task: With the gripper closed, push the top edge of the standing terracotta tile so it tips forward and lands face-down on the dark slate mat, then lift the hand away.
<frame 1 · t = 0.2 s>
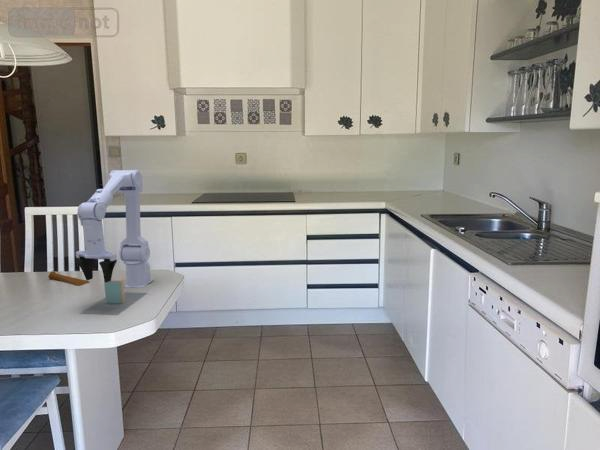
hand: (98, 280, 147), 10 cm above the table, tool pointing down, fingers open, 7 cm apart
primitive tool: (69, 282, 180), on the table
tile: (115, 302, 153), resting on mat
mat: (115, 303, 153), on the table
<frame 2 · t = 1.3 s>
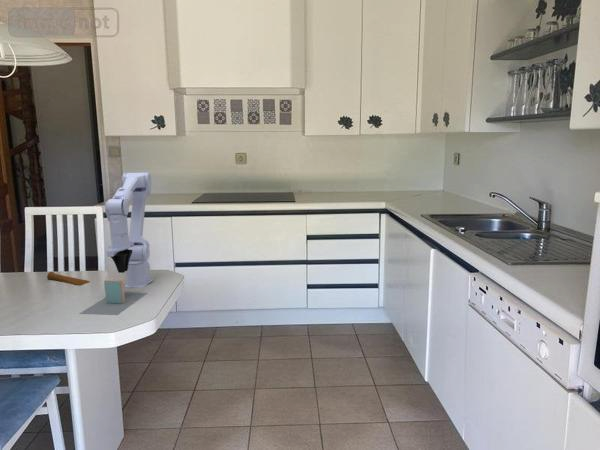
hand: (122, 271, 158), 9 cm above the table, tool pointing down, fingers closed
nothing on the table moved.
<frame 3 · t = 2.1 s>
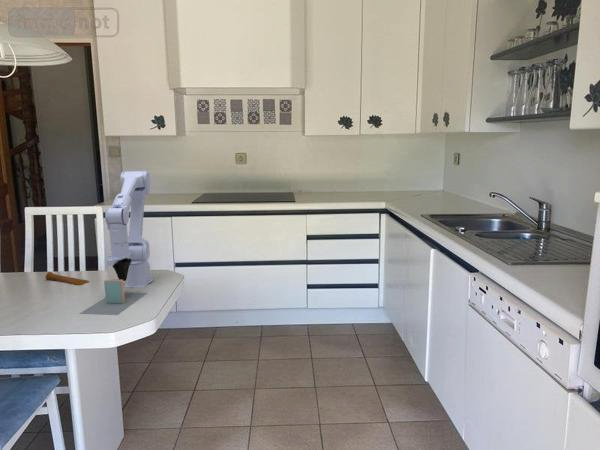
hand: (122, 280, 158), 6 cm above the table, tool pointing down, fingers closed
nothing on the table moved.
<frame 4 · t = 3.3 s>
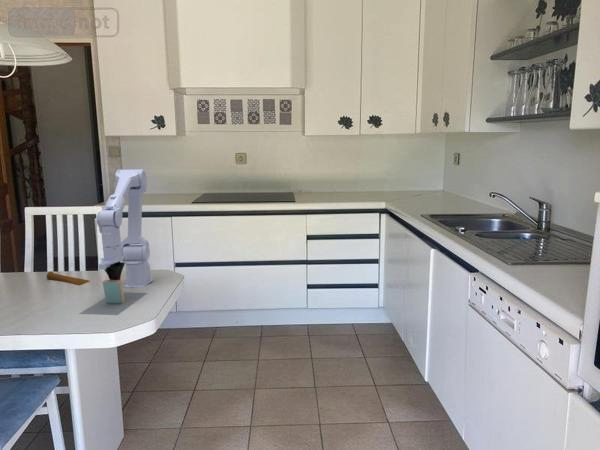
hand: (115, 284, 153), 6 cm above the table, tool pointing down, fingers closed
tile: (115, 302, 153), resting on mat, tilted 7°
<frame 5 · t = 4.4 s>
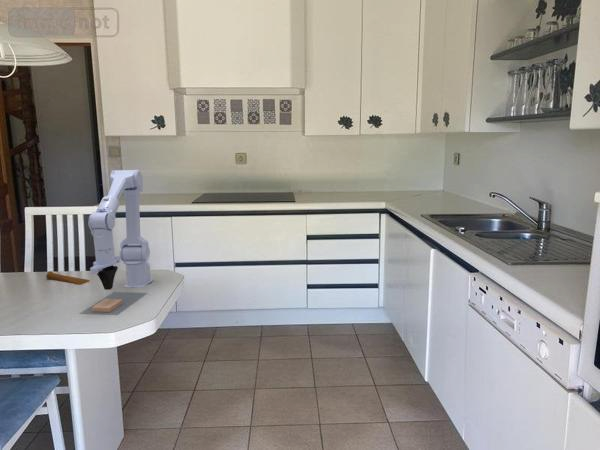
hand: (108, 289, 149), 6 cm above the table, tool pointing down, fingers closed
tile: (113, 301, 152), point 1 cm above the table, tilted 90°, touching mat
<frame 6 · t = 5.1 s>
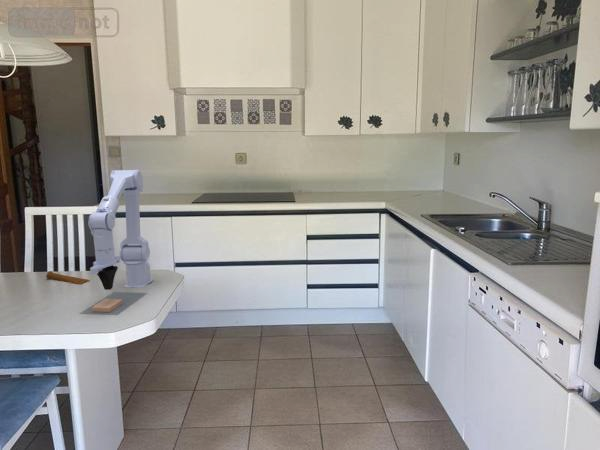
hand: (108, 289, 149), 6 cm above the table, tool pointing down, fingers closed
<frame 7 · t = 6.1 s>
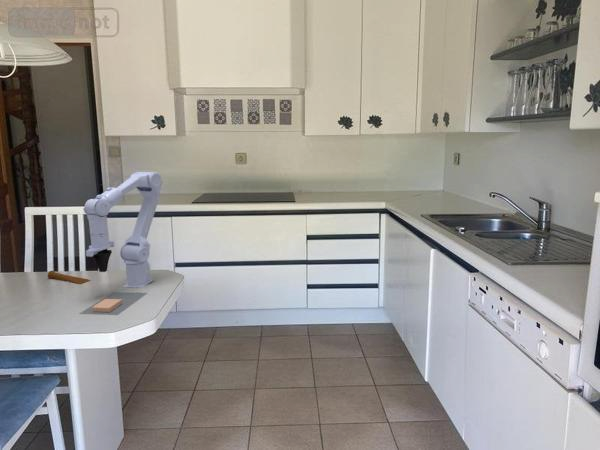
hand: (103, 271, 159), 9 cm above the table, tool pointing down, fingers closed
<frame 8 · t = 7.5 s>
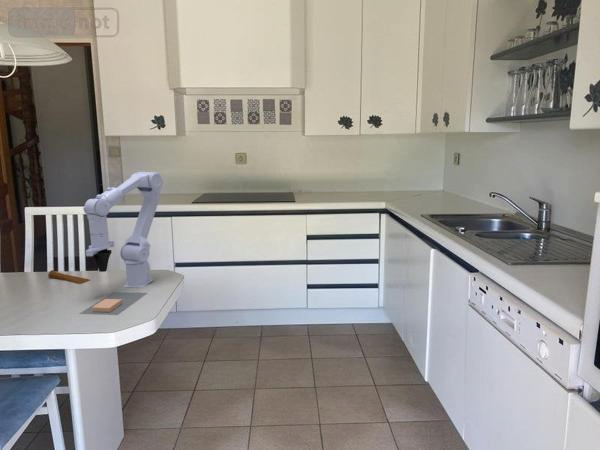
hand: (102, 271, 159), 9 cm above the table, tool pointing down, fingers closed
at the end: tile tilted 90°; tile inside the target area (1.1 cm from its centre), point 1.3 cm above the table; tile touching mat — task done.
